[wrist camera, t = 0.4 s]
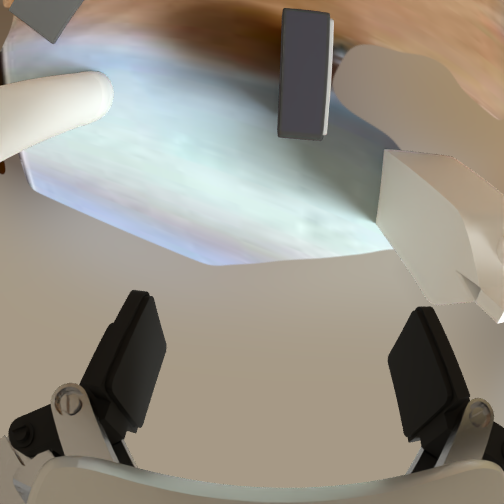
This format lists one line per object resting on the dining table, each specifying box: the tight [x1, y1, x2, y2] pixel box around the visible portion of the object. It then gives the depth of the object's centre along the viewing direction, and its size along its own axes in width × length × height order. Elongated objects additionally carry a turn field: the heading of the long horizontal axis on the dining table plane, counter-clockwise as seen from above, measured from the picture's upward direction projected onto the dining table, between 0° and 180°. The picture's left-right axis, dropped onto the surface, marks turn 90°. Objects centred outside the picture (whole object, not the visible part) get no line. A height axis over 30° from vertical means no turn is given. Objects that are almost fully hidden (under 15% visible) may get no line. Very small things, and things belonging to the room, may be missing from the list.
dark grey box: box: [277, 8, 334, 141], centre depth 24 cm, size 11×4×15 cm, turn 179°
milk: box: [376, 149, 504, 323], centre depth 26 cm, size 12×12×26 cm
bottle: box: [0, 71, 114, 162], centre depth 20 cm, size 8×8×30 cm
